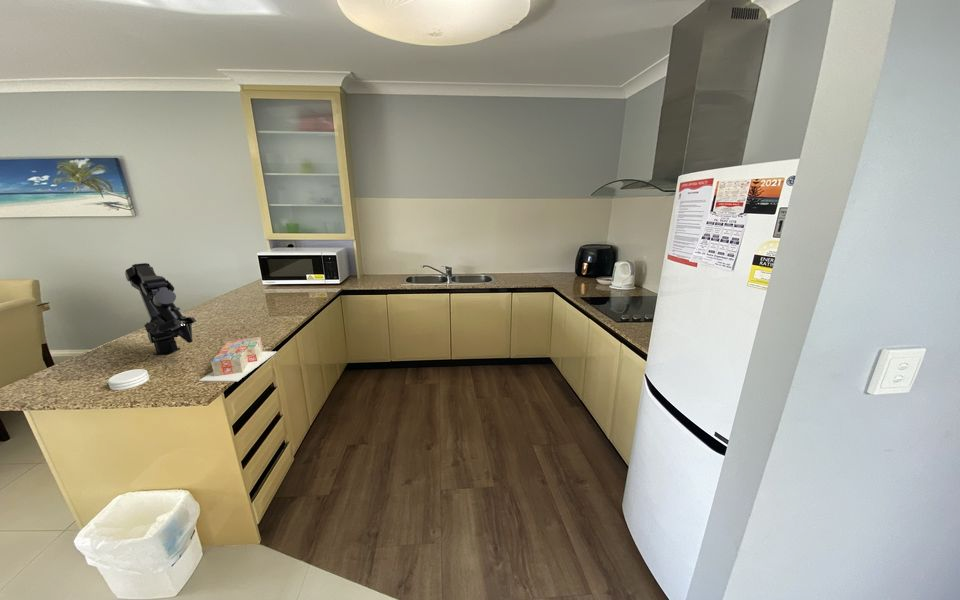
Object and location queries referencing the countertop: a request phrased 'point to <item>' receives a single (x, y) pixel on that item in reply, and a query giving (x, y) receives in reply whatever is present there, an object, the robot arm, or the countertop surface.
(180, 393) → the countertop surface
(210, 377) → the mat
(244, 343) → the stack of blocks
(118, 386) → the white ridged disc
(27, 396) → the countertop surface
